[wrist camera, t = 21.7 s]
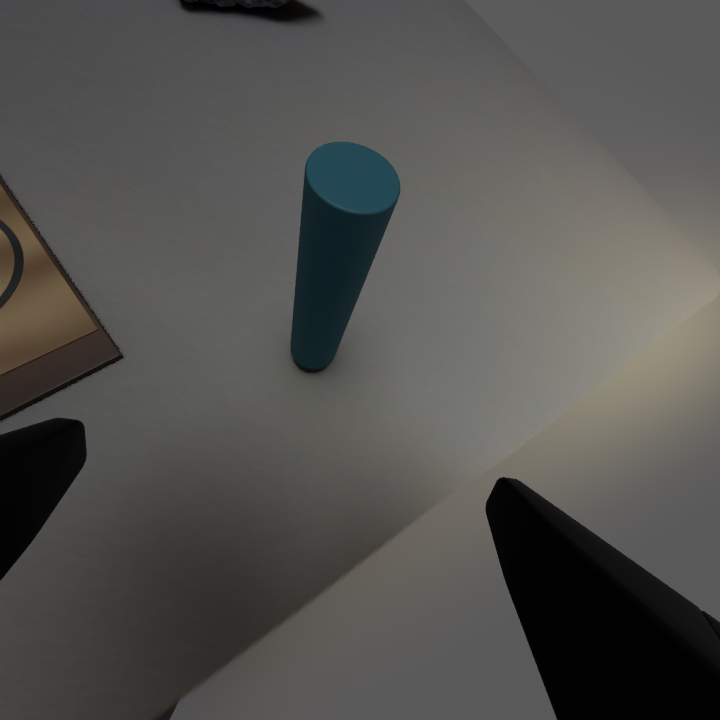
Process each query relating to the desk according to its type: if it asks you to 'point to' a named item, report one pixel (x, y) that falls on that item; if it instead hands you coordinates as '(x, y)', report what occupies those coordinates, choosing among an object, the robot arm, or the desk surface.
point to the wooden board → (41, 317)
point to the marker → (337, 243)
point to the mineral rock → (245, 3)
